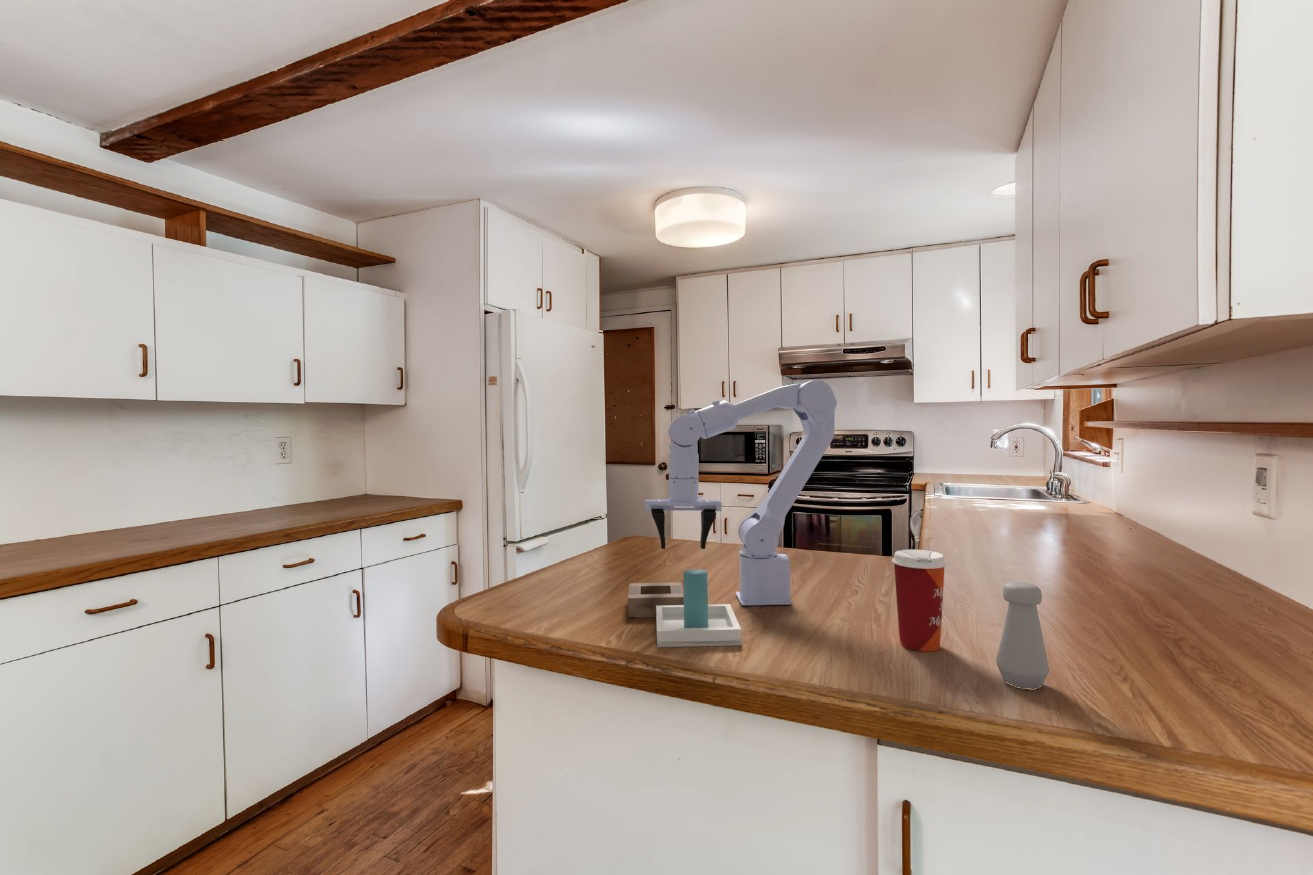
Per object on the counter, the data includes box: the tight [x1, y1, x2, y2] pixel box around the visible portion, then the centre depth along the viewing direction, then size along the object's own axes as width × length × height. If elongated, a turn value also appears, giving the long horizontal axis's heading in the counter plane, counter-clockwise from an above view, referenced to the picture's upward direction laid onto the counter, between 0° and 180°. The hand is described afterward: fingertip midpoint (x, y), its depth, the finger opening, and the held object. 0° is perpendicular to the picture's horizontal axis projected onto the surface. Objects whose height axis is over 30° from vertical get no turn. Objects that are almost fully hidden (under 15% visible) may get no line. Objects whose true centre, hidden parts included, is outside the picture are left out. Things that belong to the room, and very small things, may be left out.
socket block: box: [627, 581, 684, 618], centre depth 112 cm, size 10×10×4 cm
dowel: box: [682, 569, 709, 628], centre depth 99 cm, size 4×4×9 cm
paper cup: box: [891, 549, 948, 653], centre depth 91 cm, size 8×8×14 cm
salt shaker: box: [995, 581, 1050, 689], centre depth 77 cm, size 6×6×13 cm
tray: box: [655, 603, 742, 648], centre depth 99 cm, size 13×13×2 cm
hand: (682, 548), depth 116 cm, fingers open, 7 cm apart
